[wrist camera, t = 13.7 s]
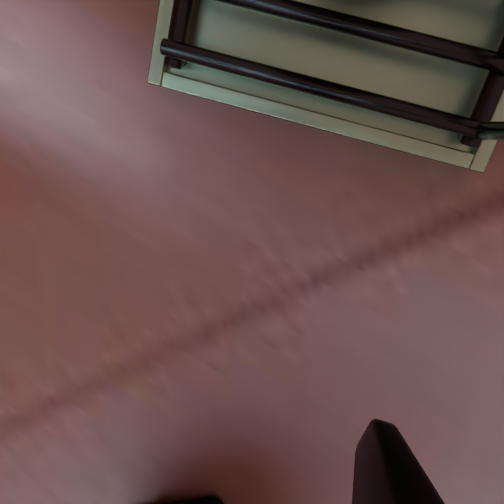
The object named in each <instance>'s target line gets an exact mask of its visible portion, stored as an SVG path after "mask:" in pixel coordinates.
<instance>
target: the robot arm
mask: <svg viewBox="0 0 504 504" xmlns="http://www.w3.org/2000/svg"><path fill="white" fill-rule="evenodd" d="M165 504H223V503H222V501H221V500H220V499H219V498H218V497H215V496H209V497H203V498H196V499H190V500H184V501H178V502H172V503H165ZM352 504H444V502H443V500H442V499H441V497H440V496H439V494H438V492H437V491H436V489H435V488H434V486H433V484H432V483H431V481H430V480H429V478H428V476H427V475H426V473H425V472H424V470H423V468H422V467H421V465H420V464H419V462H418V460H417V459H416V457H415V456H414V454H413V453H412V451H411V449H410V448H409V446H408V445H407V443H406V441H405V440H404V438H403V437H402V435H401V433H400V432H399V430H398V429H397V427H396V426H395V425H394V424H392V423H389V422H385V421H382V420H379V419H373V420H372V421H371V422H370V423H369V425H368V427H367V429H366V430H365V432H364V434H363V436H362V437H361V439H360V441H359V443H358V445H357V448H356V452H355V464H354V480H353V496H352Z"/></svg>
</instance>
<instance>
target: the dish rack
mask: <svg viewBox="0 0 504 504" xmlns="http://www.w3.org/2000/svg"><path fill="white" fill-rule="evenodd" d="M147 82H148V83H149V84H153V85H157V86H161V87H164V88H168V89H172V90H176V91H179V92H183V93H187V94H190V95H194V96H198V97H202V98H205V99H209V100H213V101H216V102H220V103H224V104H228V105H231V106H235V107H239V108H242V109H246V110H250V111H254V112H257V113H261V114H265V115H268V116H272V117H276V118H280V119H283V120H287V121H291V122H295V123H298V124H302V125H306V126H309V127H313V128H317V129H321V130H324V131H328V132H332V133H335V134H339V135H343V136H347V137H350V138H354V139H358V140H361V141H365V142H369V143H373V144H376V145H380V146H384V147H387V148H391V149H395V150H399V151H402V152H406V153H410V154H414V155H417V156H421V157H425V158H428V159H432V160H436V161H440V162H443V163H447V164H451V165H454V166H458V167H462V168H466V169H469V170H473V171H477V172H480V173H483V172H484V171H485V168H486V166H487V164H488V162H489V159H490V157H491V155H492V153H493V150H494V148H495V146H496V143H497V141H504V0H160V2H159V8H158V15H157V21H156V28H155V34H154V41H153V47H152V54H151V60H150V67H149V73H148V79H147Z"/></svg>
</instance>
